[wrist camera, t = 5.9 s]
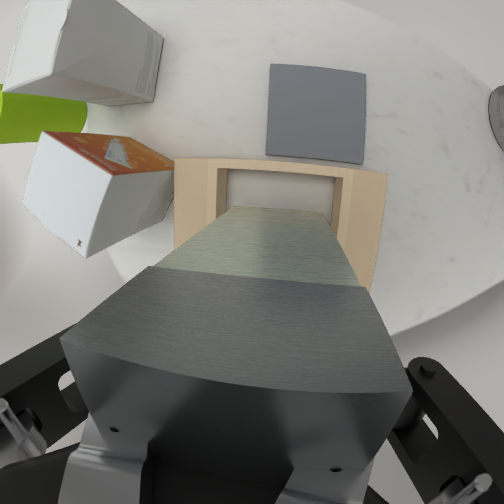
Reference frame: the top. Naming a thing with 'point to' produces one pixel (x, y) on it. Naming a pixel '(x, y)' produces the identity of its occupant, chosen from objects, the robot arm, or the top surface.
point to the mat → (316, 113)
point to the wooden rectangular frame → (346, 180)
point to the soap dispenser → (37, 116)
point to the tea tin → (245, 353)
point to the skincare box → (84, 53)
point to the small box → (96, 188)
